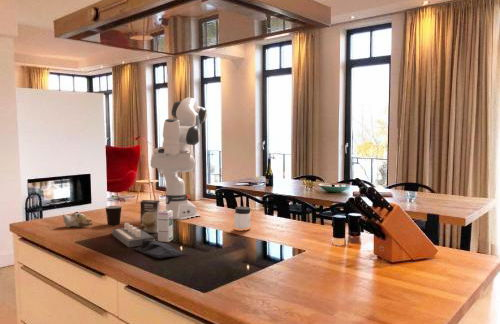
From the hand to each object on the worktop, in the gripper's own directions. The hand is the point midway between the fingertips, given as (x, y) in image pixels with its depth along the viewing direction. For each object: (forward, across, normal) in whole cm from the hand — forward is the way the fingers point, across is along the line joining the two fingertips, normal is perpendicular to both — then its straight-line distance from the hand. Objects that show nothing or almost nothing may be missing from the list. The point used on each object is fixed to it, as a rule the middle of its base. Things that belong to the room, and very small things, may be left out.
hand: (170, 176), depth 214 cm
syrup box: (+30, +5, +14) cm, 33 cm away
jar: (+28, -39, +8) cm, 48 cm away
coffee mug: (+30, +23, -31) cm, 49 cm away
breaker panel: (+30, +19, +6) cm, 36 cm away
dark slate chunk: (+31, +12, +32) cm, 46 cm away
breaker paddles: (+27, +19, +6) cm, 34 cm away
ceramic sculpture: (+31, +42, -32) cm, 61 cm away
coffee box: (+30, +8, -7) cm, 32 cm away
